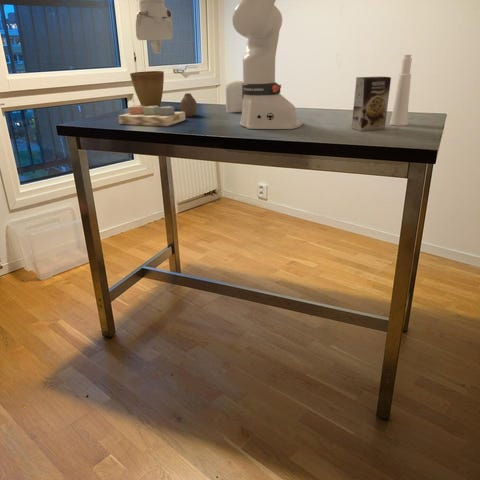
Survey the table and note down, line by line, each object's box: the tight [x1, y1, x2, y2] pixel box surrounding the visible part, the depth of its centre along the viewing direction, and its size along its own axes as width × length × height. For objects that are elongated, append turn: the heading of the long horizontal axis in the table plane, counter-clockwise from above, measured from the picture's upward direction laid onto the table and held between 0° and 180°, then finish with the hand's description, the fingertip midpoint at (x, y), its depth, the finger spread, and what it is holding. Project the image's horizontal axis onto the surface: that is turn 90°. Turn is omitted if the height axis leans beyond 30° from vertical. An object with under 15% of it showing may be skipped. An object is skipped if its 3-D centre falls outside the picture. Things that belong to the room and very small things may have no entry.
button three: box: [143, 106, 159, 115], centre depth 163 cm, size 4×4×3 cm
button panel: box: [118, 111, 186, 127], centre depth 164 cm, size 21×14×3 cm, turn 68°
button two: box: [158, 105, 176, 116], centre depth 161 cm, size 4×4×3 cm
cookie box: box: [351, 76, 392, 132], centre depth 138 cm, size 9×6×16 cm
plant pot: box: [129, 70, 165, 108], centre depth 193 cm, size 15×15×16 cm
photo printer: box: [225, 80, 243, 114], centre depth 179 cm, size 10×4×12 cm, turn 109°
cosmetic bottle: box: [389, 54, 413, 127], centre depth 142 cm, size 6×6×22 cm
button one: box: [128, 105, 145, 115], centre depth 166 cm, size 4×4×3 cm
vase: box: [180, 92, 198, 118], centre depth 174 cm, size 7×7×9 cm
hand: (157, 53), depth 161 cm, fingers closed
